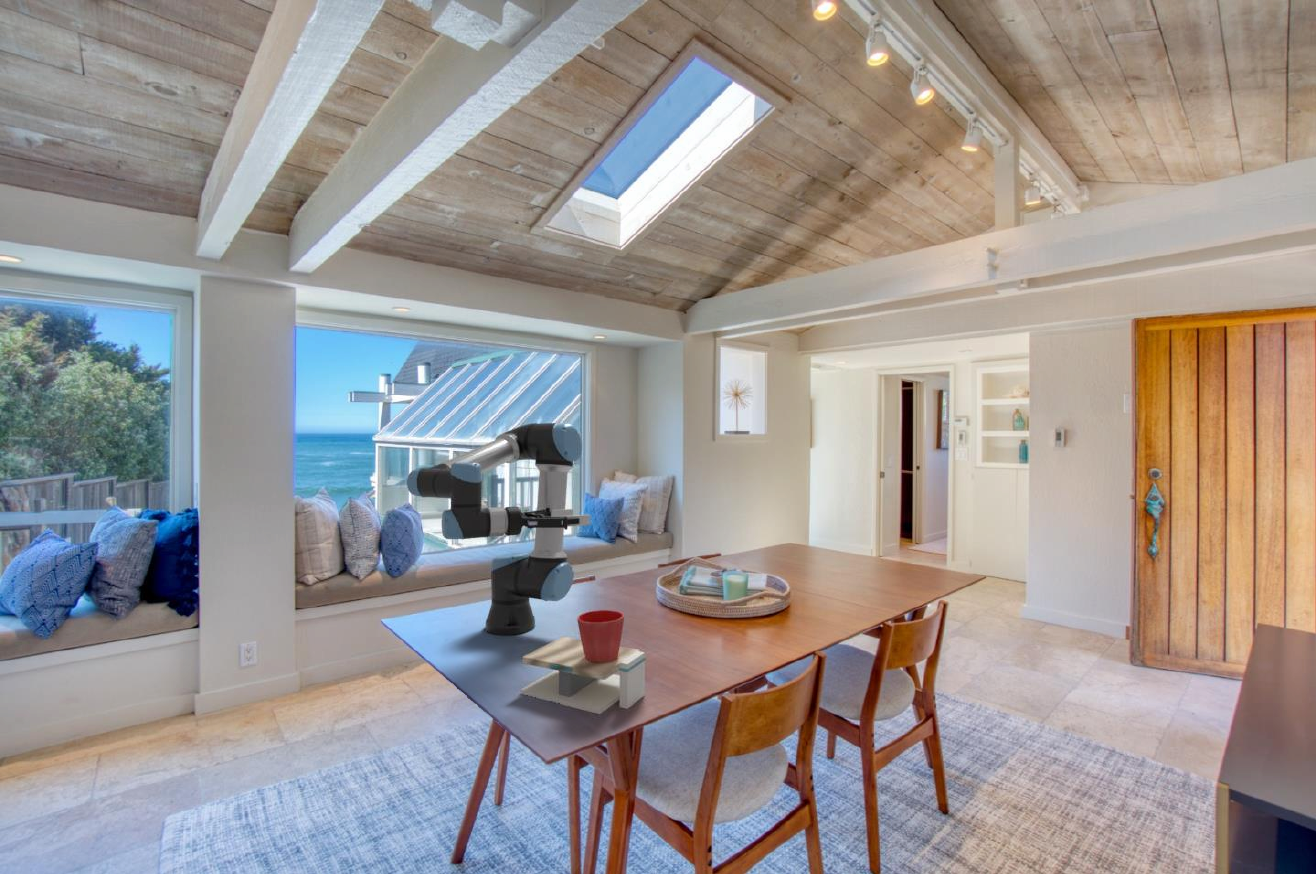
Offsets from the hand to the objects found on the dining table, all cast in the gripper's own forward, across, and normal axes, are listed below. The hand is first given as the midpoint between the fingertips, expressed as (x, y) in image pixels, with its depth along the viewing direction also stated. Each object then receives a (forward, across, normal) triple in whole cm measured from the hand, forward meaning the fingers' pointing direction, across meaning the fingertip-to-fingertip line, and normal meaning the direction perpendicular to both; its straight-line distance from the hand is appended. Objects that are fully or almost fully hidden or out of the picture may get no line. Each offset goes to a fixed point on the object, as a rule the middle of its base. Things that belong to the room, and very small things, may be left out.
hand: (581, 516), depth 167 cm
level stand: (-7, +25, -38) cm, 46 cm away
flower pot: (-5, +28, -30) cm, 41 cm away
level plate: (-8, +23, -31) cm, 39 cm away
